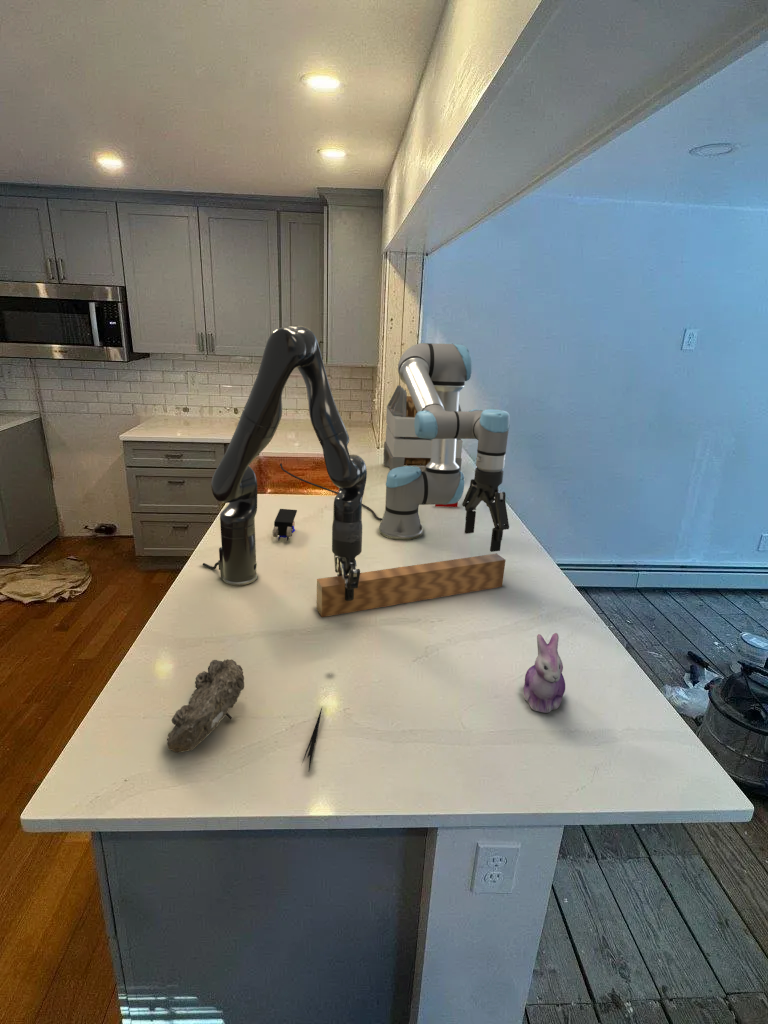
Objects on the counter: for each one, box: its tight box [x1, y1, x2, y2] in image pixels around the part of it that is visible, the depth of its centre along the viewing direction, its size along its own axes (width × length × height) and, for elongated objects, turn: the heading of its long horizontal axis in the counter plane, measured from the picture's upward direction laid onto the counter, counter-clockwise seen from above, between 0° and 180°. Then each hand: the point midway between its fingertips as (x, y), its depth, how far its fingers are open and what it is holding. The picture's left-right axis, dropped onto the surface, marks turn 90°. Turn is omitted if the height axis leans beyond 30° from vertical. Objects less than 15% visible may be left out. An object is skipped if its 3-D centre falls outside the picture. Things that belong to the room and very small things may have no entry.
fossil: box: [166, 658, 245, 754], centre depth 106 cm, size 22×10×15 cm
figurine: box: [523, 632, 566, 714], centre depth 114 cm, size 9×10×15 cm
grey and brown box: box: [383, 384, 464, 472], centre depth 268 cm, size 34×33×41 cm
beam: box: [316, 553, 506, 618], centre depth 155 cm, size 54×5×9 cm, turn 113°
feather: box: [301, 673, 332, 771], centre depth 108 cm, size 2×28×2 cm
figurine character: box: [272, 508, 298, 542], centre depth 192 cm, size 7×8×15 cm
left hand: (345, 595), depth 148 cm, fingers closed on beam, 4 cm apart
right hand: (481, 541), depth 159 cm, fingers open, 13 cm apart
